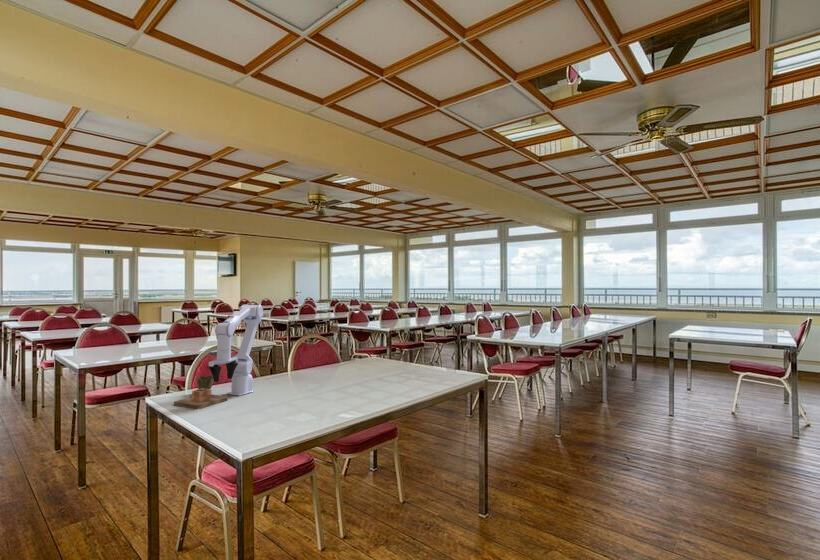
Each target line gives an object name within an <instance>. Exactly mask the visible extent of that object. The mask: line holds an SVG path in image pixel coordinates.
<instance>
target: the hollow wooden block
mask: <svg viewBox="0 0 820 560" xmlns="http://www.w3.org/2000/svg"><path fill="white" fill-rule="evenodd" d="M201 389H204V391H200V389H198V388H196V389H194V390H192V391H191V397H192V400H195V401H204V400H208V399H211V394H212V389H205V388H201Z"/></svg>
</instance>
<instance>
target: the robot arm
mask: <svg viewBox="0 0 820 560" xmlns="http://www.w3.org/2000/svg"><path fill="white" fill-rule="evenodd" d="M263 316H264V307H263V306H262V305H261V304H242V305H241V306H240V308H239V311H238V312H237V313H236V314H230V316H229V317H228V318H226V319H225V320H224V321H223V322H219V323H218V324H217V325H216V326H215V329H214V333H215V339H216V340H217V341H216V342H217V346H216V359H213V360H210V361H208V369H209V371H210V373H211V375H212V377H213V383H214V382H215V383H218V382H219V381H220V373H221V369H222V366H219V365H225V366H226V375H227V376H226V377H227V379H229V380H231V388H230V389H231V390H230V391H229V392H226V394H227V395H233V396H240V397H241V396H244V395H247V394H250V393H253V392H255V390H253V387H254V385H253V384H254V378H253V376H252V371H253V363H254V360H253V359H252V357H251V356H250V353H251V350H252V348H253V347H252V346H253V343H254V341H255V337H256V335H257V334H256V333H257V332H258V331H257V330H258V326H259V324H261V321H262V319H263ZM242 321H243V322H244V323H245V324H246V328H245V331H244V334H243V337H242V339H241V343H240V346H239V349H238V352H237V353H236V354H235V355H233V356H232V336H233V335H234V334H235V331H236V329H237V328H238V327H239V326H240V325H241V322H242ZM231 356H232V357H231Z"/></svg>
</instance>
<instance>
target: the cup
mask: <svg viewBox="0 0 820 560" xmlns="http://www.w3.org/2000/svg"><path fill="white" fill-rule="evenodd" d="M213 383H214V379H213V376H212V374H211V375H207V376H205V375H203V376H202V375H200V376H196V386H197V389H201V388H205V389H211V388H212V387H213ZM211 390H212V389H211Z"/></svg>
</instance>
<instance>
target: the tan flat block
mask: <svg viewBox="0 0 820 560" xmlns="http://www.w3.org/2000/svg"><path fill="white" fill-rule="evenodd" d="M200 391H204V389H200ZM228 399H229V398H228V396H223V395H218V394H212V393H211V399H208V400H204V401H195V400H192V396H190V397H186V398H182V399H178V400H174V401H173V406H176V407H177V406H178V407H183V408H189V409H194V410H199V409H203V408H206V407H210V406H213V405H217V404H220V403H223V402H227V401H228Z"/></svg>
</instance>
